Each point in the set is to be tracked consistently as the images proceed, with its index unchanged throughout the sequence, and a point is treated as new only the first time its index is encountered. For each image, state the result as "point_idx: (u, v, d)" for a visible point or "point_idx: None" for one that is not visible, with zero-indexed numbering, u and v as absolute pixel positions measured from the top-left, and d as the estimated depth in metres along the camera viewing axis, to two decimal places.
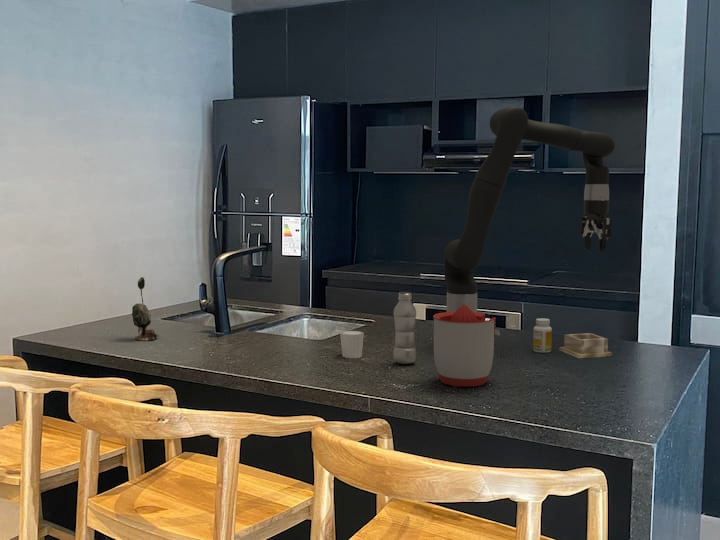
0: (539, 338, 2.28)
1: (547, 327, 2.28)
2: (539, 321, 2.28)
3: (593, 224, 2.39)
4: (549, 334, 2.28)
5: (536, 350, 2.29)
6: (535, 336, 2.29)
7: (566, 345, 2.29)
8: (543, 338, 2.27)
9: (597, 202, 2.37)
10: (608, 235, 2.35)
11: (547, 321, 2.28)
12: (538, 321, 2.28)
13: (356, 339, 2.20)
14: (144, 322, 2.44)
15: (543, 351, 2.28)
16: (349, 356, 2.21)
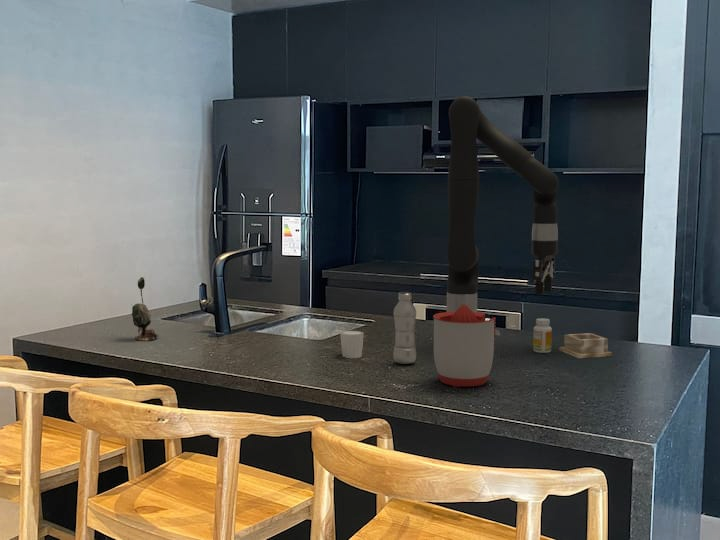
0: (539, 338, 2.28)
1: (547, 327, 2.28)
2: (539, 321, 2.28)
3: (552, 265, 2.28)
4: (549, 334, 2.28)
5: (536, 350, 2.29)
6: (535, 336, 2.29)
7: (566, 345, 2.29)
8: (543, 338, 2.27)
9: None
10: None
11: (547, 321, 2.28)
12: (538, 321, 2.28)
13: (356, 339, 2.20)
14: (144, 322, 2.44)
15: (543, 351, 2.28)
16: (349, 356, 2.21)
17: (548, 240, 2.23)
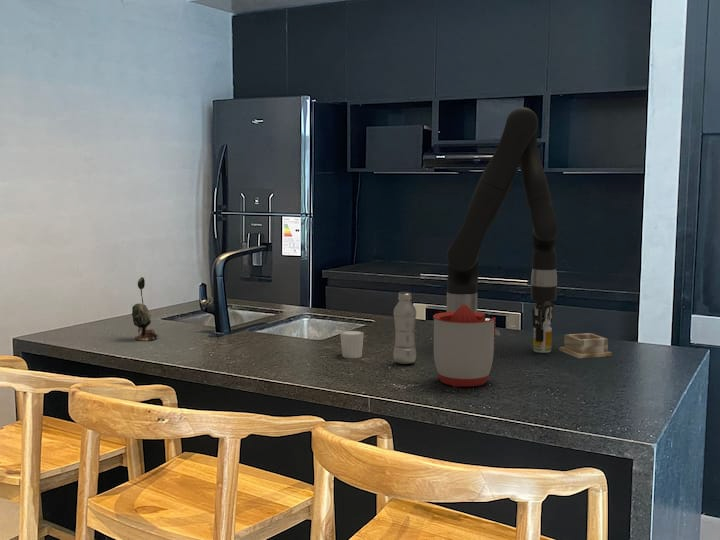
0: None
1: (547, 327, 2.28)
2: None
3: (551, 310, 2.30)
4: (549, 334, 2.28)
5: (536, 349, 2.29)
6: (535, 336, 2.29)
7: (566, 345, 2.29)
8: None
9: None
10: None
11: (547, 321, 2.28)
12: None
13: (356, 339, 2.20)
14: (144, 322, 2.44)
15: (543, 351, 2.28)
16: (349, 356, 2.21)
17: (547, 286, 2.24)
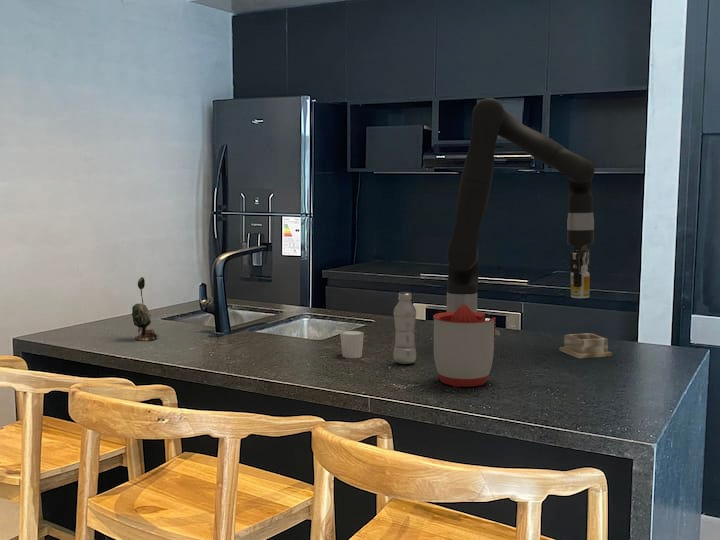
0: None
1: (585, 272, 2.23)
2: None
3: (588, 254, 2.25)
4: (587, 279, 2.23)
5: (574, 295, 2.24)
6: None
7: (566, 345, 2.29)
8: None
9: None
10: None
11: (585, 266, 2.23)
12: None
13: (356, 339, 2.20)
14: (144, 322, 2.44)
15: (581, 296, 2.23)
16: (349, 356, 2.21)
17: (584, 229, 2.20)
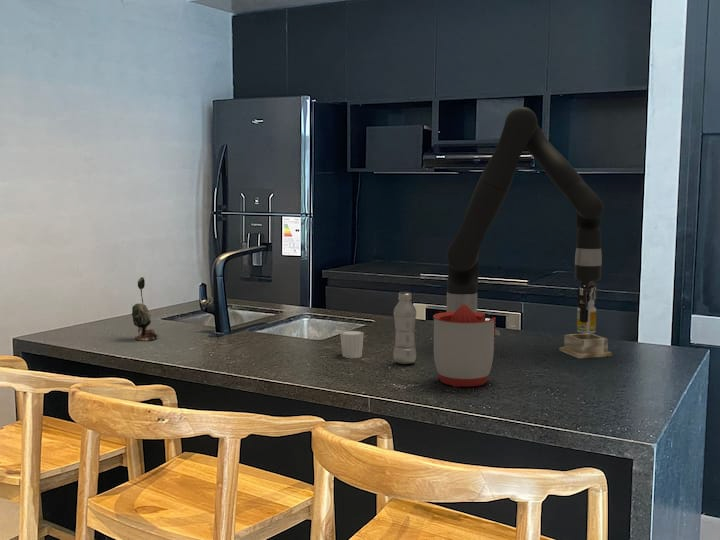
0: None
1: (592, 307, 2.24)
2: None
3: (595, 290, 2.26)
4: (594, 314, 2.24)
5: (581, 330, 2.25)
6: (579, 316, 2.25)
7: (566, 345, 2.29)
8: (588, 319, 2.23)
9: None
10: None
11: (592, 301, 2.24)
12: None
13: (356, 339, 2.20)
14: (144, 322, 2.44)
15: (588, 332, 2.24)
16: (349, 356, 2.21)
17: (592, 265, 2.21)
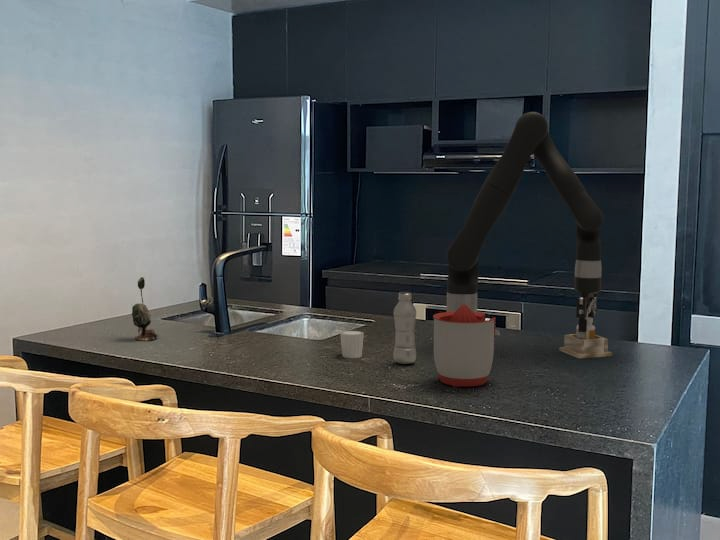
0: (583, 337, 2.24)
1: (590, 326, 2.24)
2: None
3: (595, 301, 2.26)
4: (593, 333, 2.24)
5: None
6: (578, 335, 2.25)
7: (566, 345, 2.29)
8: (587, 337, 2.24)
9: None
10: None
11: (590, 319, 2.24)
12: None
13: (356, 339, 2.20)
14: (144, 322, 2.44)
15: None
16: (349, 356, 2.21)
17: (592, 277, 2.21)
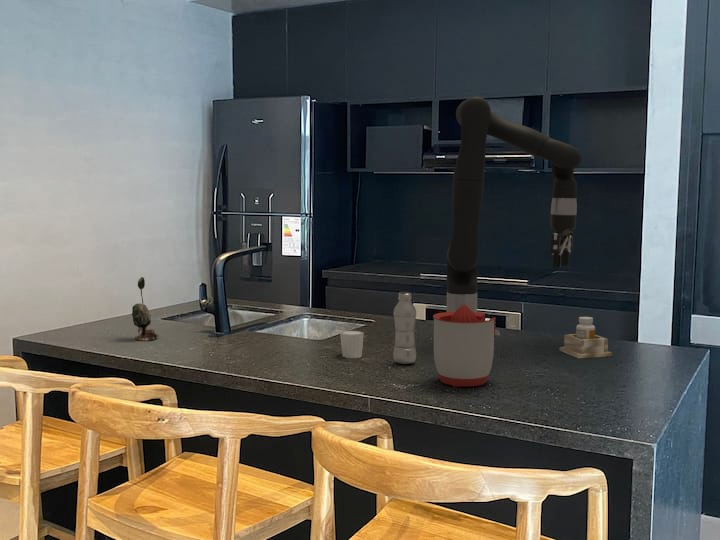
0: (583, 337, 2.24)
1: (590, 325, 2.25)
2: (582, 319, 2.25)
3: (570, 239, 2.33)
4: (593, 333, 2.24)
5: None
6: (578, 335, 2.25)
7: (566, 345, 2.29)
8: (587, 337, 2.24)
9: None
10: None
11: (590, 319, 2.24)
12: (581, 319, 2.25)
13: (356, 339, 2.20)
14: (144, 322, 2.44)
15: None
16: (349, 356, 2.21)
17: (567, 214, 2.28)
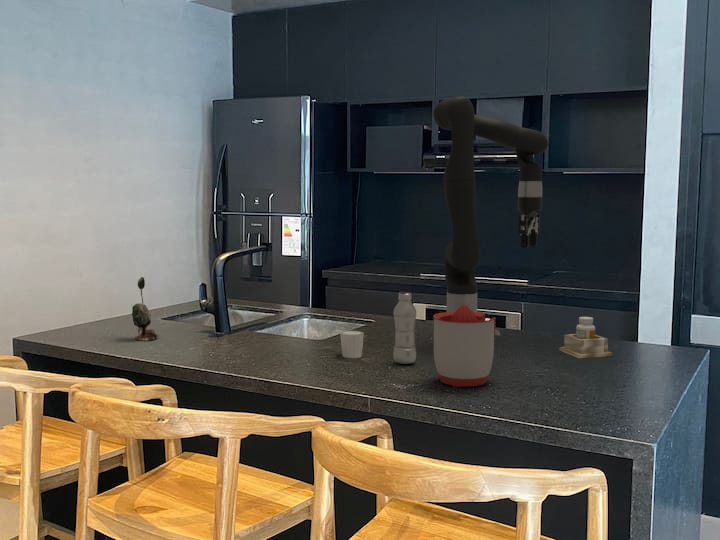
0: (583, 337, 2.24)
1: (591, 326, 2.24)
2: (583, 319, 2.25)
3: (537, 220, 2.45)
4: (593, 333, 2.24)
5: None
6: (578, 335, 2.25)
7: (566, 345, 2.29)
8: (587, 337, 2.24)
9: None
10: None
11: (591, 319, 2.24)
12: (581, 319, 2.25)
13: (356, 339, 2.20)
14: (144, 322, 2.44)
15: None
16: (349, 356, 2.21)
17: (533, 196, 2.40)
